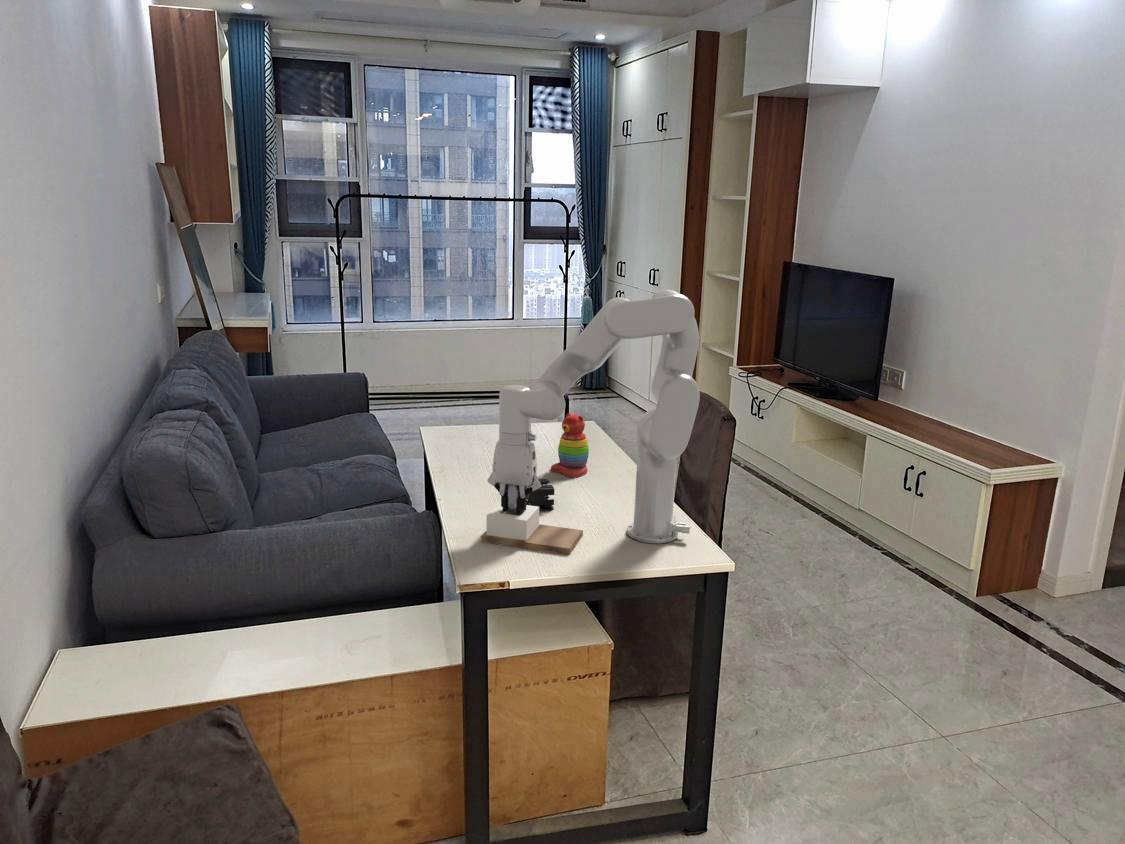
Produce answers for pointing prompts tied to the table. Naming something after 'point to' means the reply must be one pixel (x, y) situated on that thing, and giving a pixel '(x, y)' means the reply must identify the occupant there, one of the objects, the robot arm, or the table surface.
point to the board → (542, 539)
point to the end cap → (542, 496)
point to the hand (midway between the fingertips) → (513, 510)
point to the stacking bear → (572, 448)
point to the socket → (512, 523)
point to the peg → (513, 499)
